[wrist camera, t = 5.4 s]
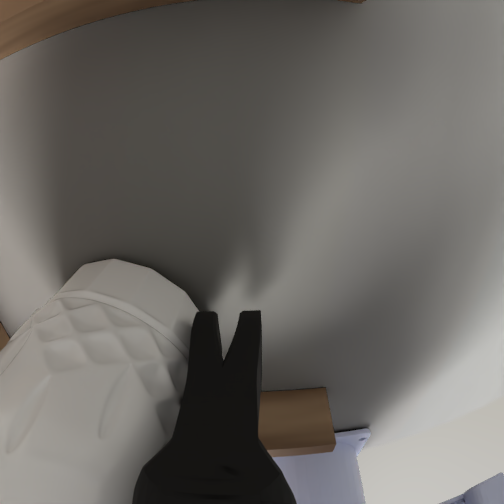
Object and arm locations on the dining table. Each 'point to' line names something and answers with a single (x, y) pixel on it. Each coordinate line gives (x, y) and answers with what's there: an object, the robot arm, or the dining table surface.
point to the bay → (271, 403)
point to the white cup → (93, 386)
